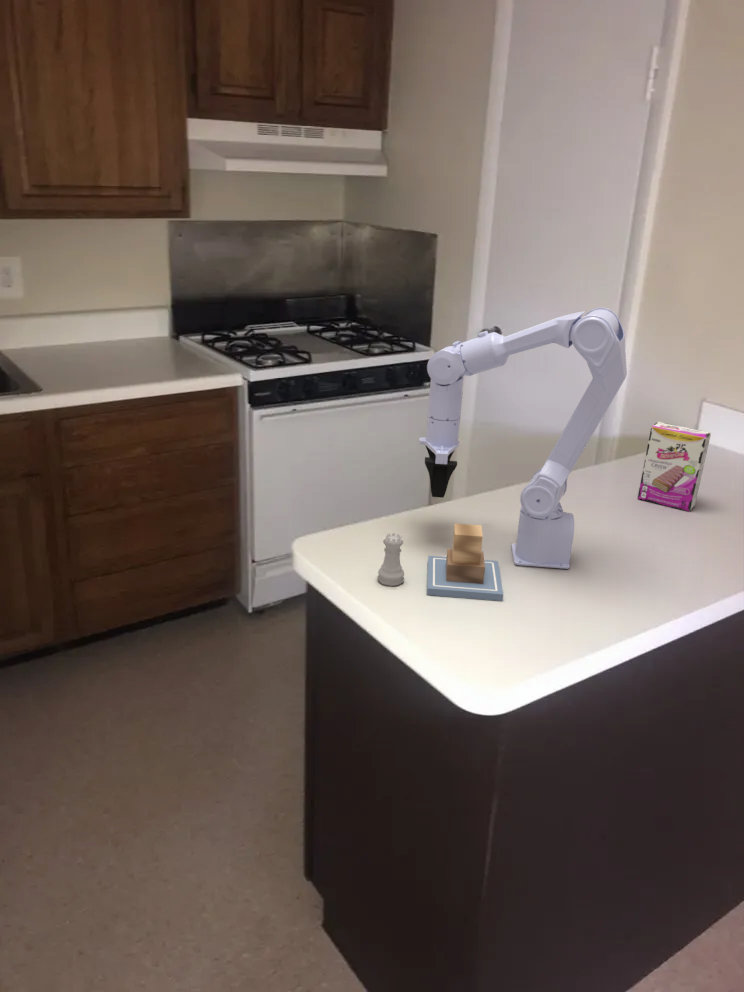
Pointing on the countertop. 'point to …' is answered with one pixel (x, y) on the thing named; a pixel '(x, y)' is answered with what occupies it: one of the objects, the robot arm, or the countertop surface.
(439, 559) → the board
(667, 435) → the candy bar box
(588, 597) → the countertop surface
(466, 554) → the oak block
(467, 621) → the countertop surface
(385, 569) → the rook chess piece
